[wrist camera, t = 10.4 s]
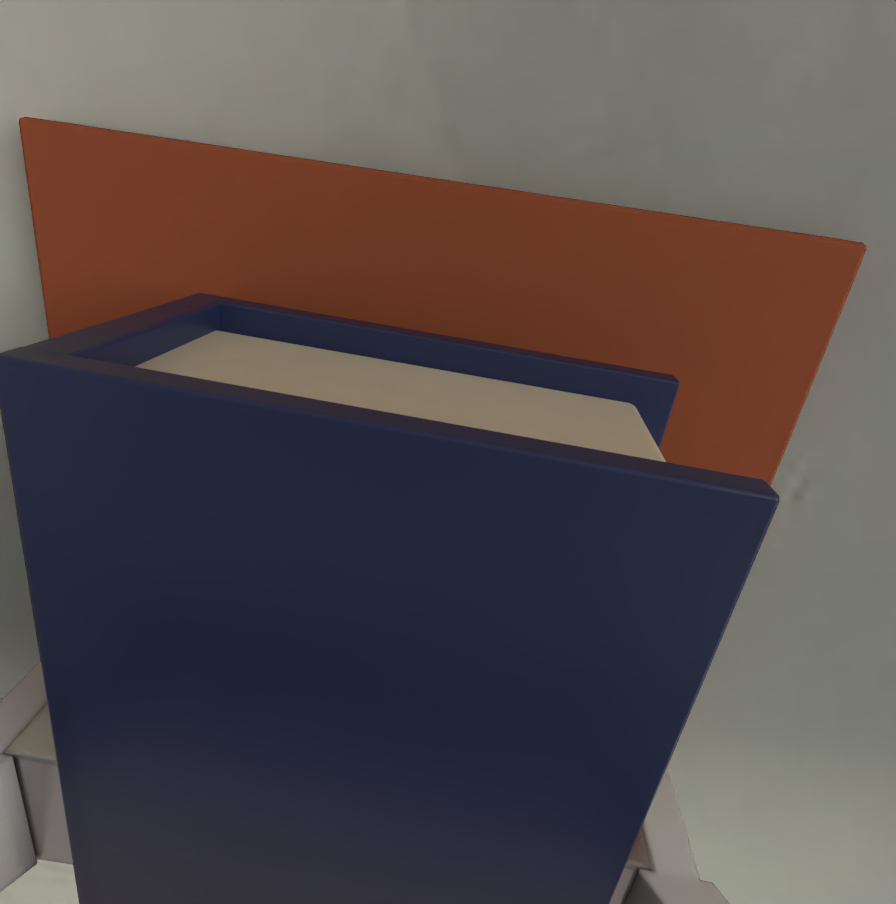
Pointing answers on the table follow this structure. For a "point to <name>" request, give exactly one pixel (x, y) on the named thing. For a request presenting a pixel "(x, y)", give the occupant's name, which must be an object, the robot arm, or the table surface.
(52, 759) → the robot arm
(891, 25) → the table surface
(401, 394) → the navy book
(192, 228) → the rubber mat
